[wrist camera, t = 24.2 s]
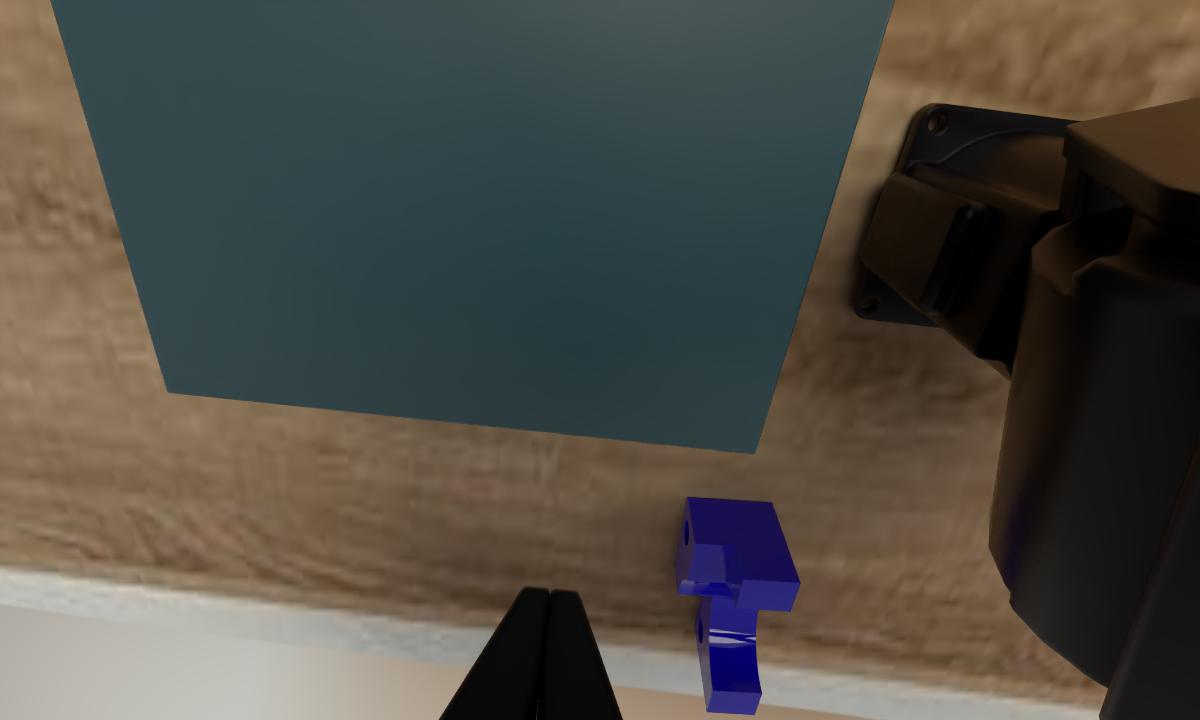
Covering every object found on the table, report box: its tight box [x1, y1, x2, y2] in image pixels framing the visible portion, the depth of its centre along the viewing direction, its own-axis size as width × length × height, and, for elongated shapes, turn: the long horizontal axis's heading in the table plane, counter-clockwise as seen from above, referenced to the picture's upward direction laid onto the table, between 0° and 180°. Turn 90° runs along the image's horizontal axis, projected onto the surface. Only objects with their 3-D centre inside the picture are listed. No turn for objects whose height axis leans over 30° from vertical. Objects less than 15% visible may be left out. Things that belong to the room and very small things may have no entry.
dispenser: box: [50, 0, 895, 454], centre depth 12 cm, size 14×12×9 cm
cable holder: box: [674, 497, 800, 715], centre depth 23 cm, size 8×4×4 cm, turn 176°
